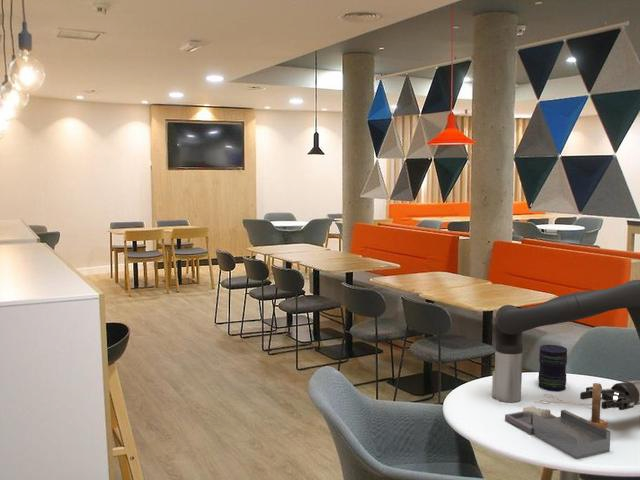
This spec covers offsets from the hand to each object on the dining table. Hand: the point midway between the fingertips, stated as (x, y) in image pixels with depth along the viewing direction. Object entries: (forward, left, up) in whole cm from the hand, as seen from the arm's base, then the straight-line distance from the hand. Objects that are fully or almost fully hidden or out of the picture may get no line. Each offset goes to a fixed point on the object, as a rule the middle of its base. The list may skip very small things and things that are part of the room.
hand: (591, 400), depth 194 cm
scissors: (-13, +21, -11) cm, 27 cm away
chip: (-13, -6, -8) cm, 16 cm away
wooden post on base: (+1, +2, -10) cm, 10 cm away
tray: (-16, -4, -10) cm, 19 cm away
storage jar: (-23, +34, -10) cm, 42 cm away
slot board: (-3, -12, -10) cm, 16 cm away
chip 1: (-15, -5, -8) cm, 18 cm away
